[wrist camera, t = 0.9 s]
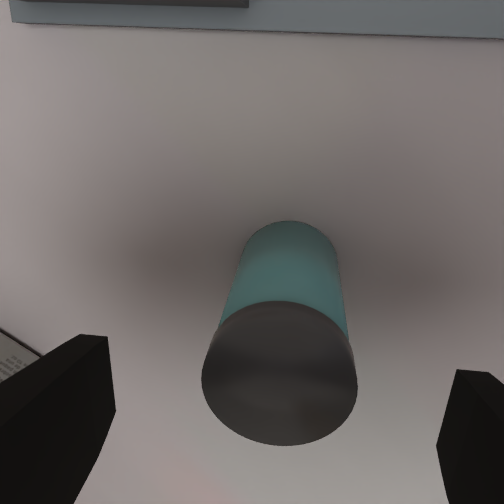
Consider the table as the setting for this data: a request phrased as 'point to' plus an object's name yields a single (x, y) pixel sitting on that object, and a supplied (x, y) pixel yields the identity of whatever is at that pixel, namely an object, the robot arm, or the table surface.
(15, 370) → the coffee box
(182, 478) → the table surface
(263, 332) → the teal bottle
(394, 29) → the slate board
